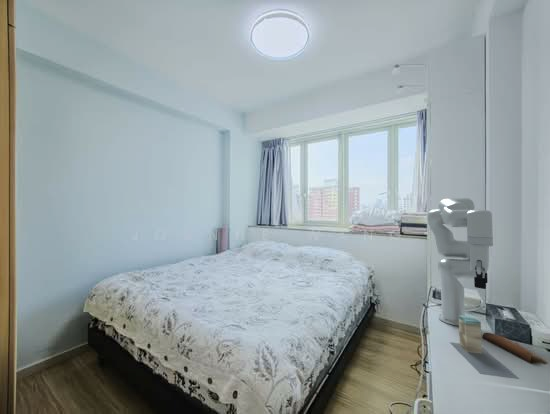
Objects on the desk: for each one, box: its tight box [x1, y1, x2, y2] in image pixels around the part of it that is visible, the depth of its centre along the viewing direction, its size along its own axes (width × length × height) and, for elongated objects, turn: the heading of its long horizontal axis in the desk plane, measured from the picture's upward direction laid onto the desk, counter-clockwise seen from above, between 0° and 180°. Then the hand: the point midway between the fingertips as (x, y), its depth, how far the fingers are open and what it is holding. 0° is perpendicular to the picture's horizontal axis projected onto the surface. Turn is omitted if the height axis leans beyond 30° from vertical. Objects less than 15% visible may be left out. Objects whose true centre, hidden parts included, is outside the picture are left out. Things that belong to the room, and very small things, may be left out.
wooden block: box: [458, 315, 483, 354], centre depth 92 cm, size 5×5×12 cm
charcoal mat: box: [449, 341, 520, 380], centre depth 86 cm, size 20×11×1 cm, turn 167°
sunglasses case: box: [481, 332, 550, 365], centre depth 92 cm, size 18×7×7 cm
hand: (481, 285), depth 90 cm, fingers open, 9 cm apart
